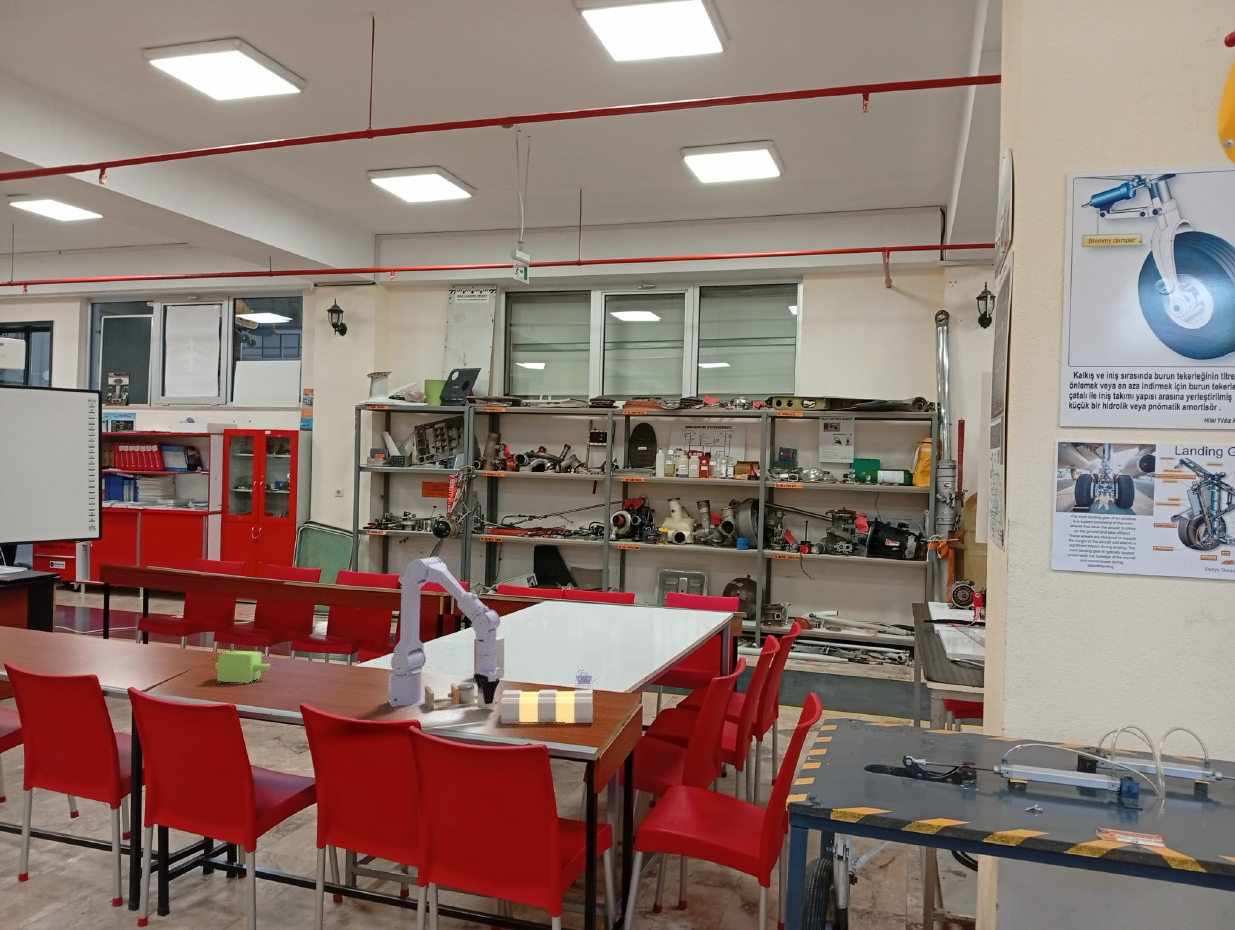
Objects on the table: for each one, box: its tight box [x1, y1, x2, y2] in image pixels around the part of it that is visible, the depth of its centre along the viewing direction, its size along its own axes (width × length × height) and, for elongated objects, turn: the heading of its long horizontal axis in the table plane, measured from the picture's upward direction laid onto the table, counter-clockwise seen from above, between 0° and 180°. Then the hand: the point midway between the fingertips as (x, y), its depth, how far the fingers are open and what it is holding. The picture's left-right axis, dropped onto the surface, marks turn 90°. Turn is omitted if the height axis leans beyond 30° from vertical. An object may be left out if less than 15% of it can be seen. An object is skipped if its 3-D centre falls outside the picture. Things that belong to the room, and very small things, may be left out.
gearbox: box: [214, 650, 271, 684], centre depth 290 cm, size 18×10×10 cm, turn 84°
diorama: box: [500, 669, 594, 724], centre depth 244 cm, size 25×10×13 cm, turn 91°
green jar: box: [456, 683, 476, 704], centre depth 259 cm, size 5×5×5 cm
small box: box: [473, 636, 505, 679], centre depth 293 cm, size 8×6×13 cm
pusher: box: [447, 683, 459, 705], centre depth 257 cm, size 2×7×5 cm, turn 22°
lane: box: [424, 685, 500, 713], centre depth 258 cm, size 20×10×6 cm, turn 112°
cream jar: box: [476, 687, 496, 710], centre depth 251 cm, size 5×5×5 cm
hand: (486, 701), depth 251 cm, fingers closed on cream jar, 5 cm apart
